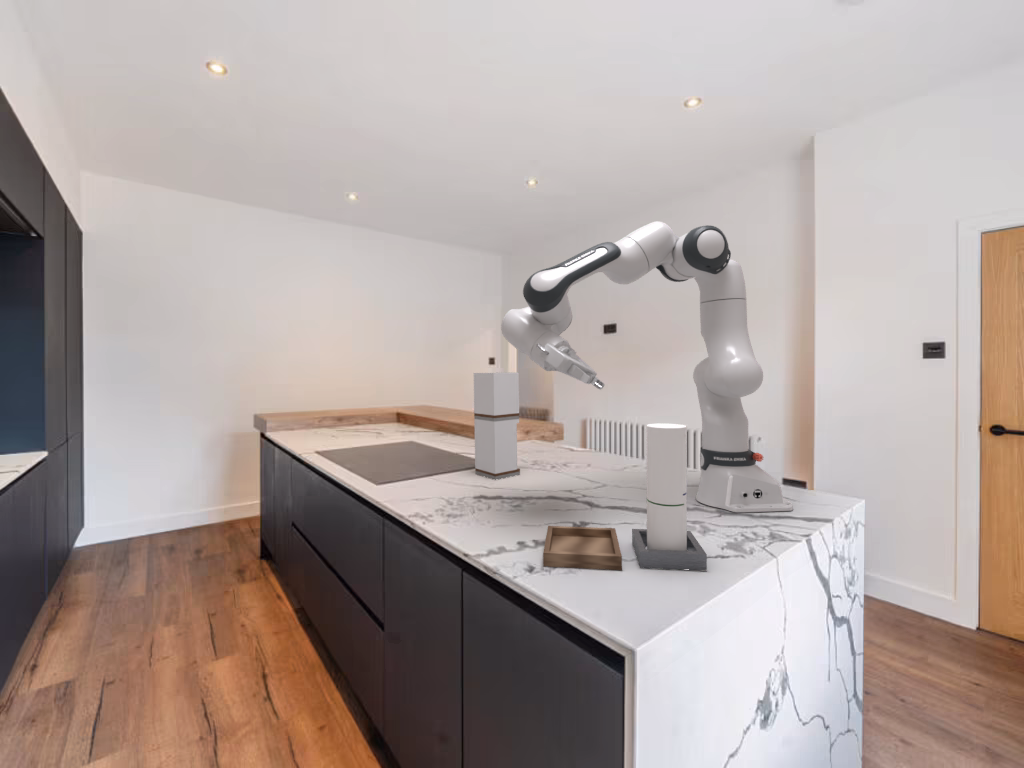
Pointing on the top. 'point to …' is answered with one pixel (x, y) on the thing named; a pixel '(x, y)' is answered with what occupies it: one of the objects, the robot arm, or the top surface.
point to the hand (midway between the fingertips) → (595, 383)
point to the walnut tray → (582, 548)
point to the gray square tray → (669, 554)
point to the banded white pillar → (496, 424)
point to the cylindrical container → (666, 486)
